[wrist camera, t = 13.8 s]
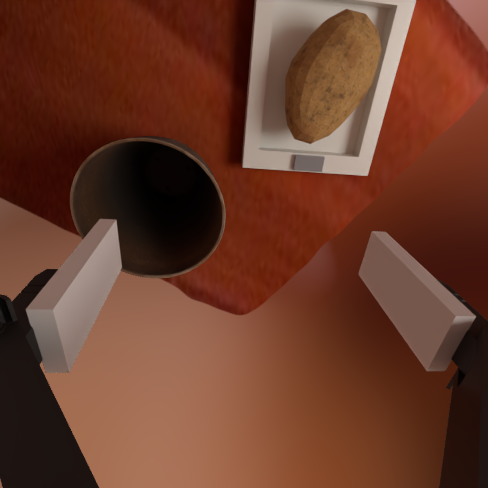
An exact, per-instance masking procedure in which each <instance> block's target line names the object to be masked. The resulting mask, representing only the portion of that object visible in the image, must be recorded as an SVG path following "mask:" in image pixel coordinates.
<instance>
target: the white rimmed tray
mask: <svg viewBox="0 0 488 488" xmlns="http://www.w3.org/2000/svg"><path fill="white" fill-rule="evenodd" d="M415 3H416V0H254V13H253V25H252V38H251V50H250V62H249V75H248V87H247V100H246V112H245V124H244V137H243V149H242V162H241V163H242V167H243V168H257V169H272V170H287V171H302V172H317V173H333V174H348V175H363V176H368V172H369V168H370V165H371V161H372V158H373V154H374V150H375V147H376V143H377V140H378V136H379V132H380V129H381V125H382V122H383V118H384V114H385V111H386V107H387V104H388V100H389V96H390V93H391V89H392V86H393V82H394V78H395V75H396V71H397V68H398V64H399V60H400V57H401V53H402V50H403V46H404V42H405V39H406V35H407V32H408V28H409V24H410V21H411V17H412V14H413V10H414V6H415ZM345 9H349V10H353V11H357V12H361V13H364V14H366V15H367V16H368V17H369V19H370V20H371V22H372V23H373V24H374V26H375V27H376V29H377V30H378V34H379V39H380V44H381V53H380V57H379V61H378V65H377V69H376V72H375V75H374V78H373V81H372V84H371V86H370V88H369V90H368V91H367V93H366V95H365V96H364V98H363V100H362V101H361V102H360V103H359V105H358V106H357V107H356V108H355V110H354V111H353V112H352V113H351V114H350V115H349V117H348V118H347V119H346V120H345V121H344V122H343V123H342V124H341V125H340V126H339V127H338V128H337V129H336V130H335V131H334V132H333V133H332V134H331V135H329V136H327V137H325V138H322V139H320V140H318V141H316V142H314V143H311V144H308V143H305V142H302V141H299V140H295V139H294V138H293V136H292V134H291V132H290V130H289V128H288V126H287V121H286V113H285V78H286V74H287V72H288V69H289V66H290V63H291V61H292V59H293V58H294V57H295V55H296V54H297V52H298V51H299V50H300V48H301V47H302V46H303V44H304V43H305V42H306V40H307V39H308V38H309V36H310V35H311V34H312V33H313V32H314V31H315V30H316V29H317V28H318V27H319V26H320V25H321V24H322V23H323V22H324V21H326V20H327V19H328V18H330V17H332V16H334V15H336V14H337V13H339V12H341V11H343V10H345Z"/></svg>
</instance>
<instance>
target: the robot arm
mask: <svg viewBox="0 0 488 488" xmlns="http://www.w3.org/2000/svg"><path fill="white" fill-rule="evenodd" d="M121 268H122V263H121V255H120V246H119V238H118V230H117V221H116V220H113V219H99V221H98V222H97V223H96V224H95V225H94V227H93V228H92V229H91V230H90V232H89V233H88V234H87V235H86V236H85V238H84V239H83V240H82V241H81V243H80V244H79V245H78V246H77V247H76V249H75V250H74V251H73V252H72V254H71V255H70V256H69V257H68V258H67V260H66V261H65V262H64V263H63V264H62V266H61V267H60V268H59V269H46V270H45V271H43V272H41V273H40V274H38V275H36V276H35V277H34V278H33V279H32V280H31V281H30V282H29V284H28V286H26V287H25V288H24V289H23V290H22V291H21V293H19V295H18V296H17V297H16V298H15V299H14V300H13V301H12V302H11V300H10V298H9V297H7V296H5V295H0V479H1V483H2V486H3V488H99V487H98V485H97V483H96V481H95V478H94V476H93V474H92V472H91V470H90V468H89V466H88V464H87V462H86V460H85V458H84V456H83V454H82V452H81V450H80V448H79V446H78V443H77V441H76V439H75V437H74V435H73V433H72V431H71V429H70V427H69V425H68V423H67V421H66V419H65V417H64V415H63V412H62V411H61V408H60V406H59V404H58V402H57V400H56V398H55V396H54V394H53V392H52V390H51V388H50V386H49V384H48V382H47V380H46V378H45V375H44V373H43V371H42V369H41V367H40V363H41V361H42V363H43V366H44V369H45V372H46V373H56V372H57V373H61V372H62V373H66V372H67V373H69V372H70V370H71V368H72V366H73V364H74V362H75V360H76V358H77V356H78V354H79V352H80V350H81V348H82V346H83V344H84V342H85V340H86V338H87V336H88V334H89V332H90V330H91V328H92V326H93V324H94V322H95V320H96V318H97V316H98V314H99V312H100V310H101V308H102V306H103V304H104V302H105V300H106V298H107V296H108V294H109V292H110V290H111V288H112V286H113V284H114V282H115V280H116V278H117V276H118V274H119V272H120V270H121ZM359 276H360V277H361V279H362V280H363V281H364V283H365V284H366V286H367V287H368V288H369V290H370V291H371V293H372V294H373V296H374V297H375V298H376V300H377V301H378V303H379V304H380V305H381V307H382V308H383V310H384V311H385V312H386V314H387V315H388V317H389V318H390V320H391V321H392V322H393V324H394V325H395V327H396V328H397V330H398V331H399V332H400V334H401V335H402V336H403V338H404V339H405V341H406V342H407V344H408V345H409V346H410V348H411V349H412V350H413V352H414V354H415V355H416V356H417V358H418V359H419V360H420V362H421V363H422V365H423V366H424V368H425V369H426V371H445V370H446V369H447V367H448V365H449V363H450V362H451V360H453V361H454V363H455V364H456V365H457V366H458V369H457V371H456V372H455V374H454V376H453V377H452V379H451V381H450V382H449V384H448V386H447V387H446V388H448V389H450V388H451V387H452V386H453V387H452V395H451V403H450V410H449V418H448V426H447V433H446V441H445V448H444V456H443V463H442V471H441V478H440V486H439V488H488V321H487V320H486V319H485V318H484V317H483V316H482V315H480V314H479V313H478V312H477V311H476V310H475V309H474V308H473V307H472V306H471V305H469V304H468V303H467V302H465V300H464V299H463V298H462V297H461V296H458V294H457V293H456V292H455V291H454V290H453V289H452V288H451V287H449V286H448V285H446V284H445V283H443V282H441V281H440V280H436V279H435V278H434V277H433V276H432V275H431V274H430V273H429V272H428V271H427V270H426V269H425V268H424V267H422V266H421V265H420V264H419V263H418V262H417V261H416V260H415V259H414V258H413V257H412V256H411V255H410V254H409V253H407V252H406V251H405V250H404V249H403V248H402V247H401V246H400V245H399V244H398V243H397V242H396V241H395V240H394V239H392V238H391V237H390V236H389V235H388V234H387V233H386V232H375V231H372V233H371V237H370V239H369V242H368V246H367V249H366V252H365V255H364V259H363V262H362V265H361V268H360V271H359Z"/></svg>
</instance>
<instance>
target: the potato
mask: <svg viewBox="0 0 488 488" xmlns="http://www.w3.org/2000/svg"><path fill="white" fill-rule="evenodd" d="M380 53H381V44H380V39H379V34H378V30H377V29H376V27H375V26H374V24H373V23H372V22H371V20H370V19H369V17H368V16H367V15H366V14H364V13H361V12H357V11H353V10H349V9H345V10H343V11H341V12H339V13H337V14H336V15H334V16H332V17H330V18H328V19H327V20H326V21H324V22H323V23H322V24H321V25H320V26H319V27H318V28H317V29H316V30H315V31H314V32H313V33H312V34H311V35H310V36H309V38H308V39H307V40H306V42H305V43H304V44H303V46H302V47H301V48H300V50H299V51H298V52H297V54H296V55H295V57H294V58H293V59H292V61H291V63H290V66H289V69H288V72H287V74H286V78H285V113H286V121H287V126H288V128H289V130H290V132H291V134H292V136H293V138H294V139H295V140H299V141H302V142H305V143H308V144H311V143H314V142H316V141H318V140H320V139H322V138H325V137H327V136H329V135H331V134H332V133H333V132H334V131H335V130H336V129H337V128H338V127H339V126H340V125H341V124H342V123H343V122H344V121H345V120H346V119H347V118H348V117H349V115H350V114H351V113H352V112H353V111H354V110H355V108H356V107H357V106H358V105H359V103H360V102H361V101H362V100H363V98H364V96H365V95H366V93H367V91H368V90H369V88H370V86H371V84H372V81H373V78H374V75H375V72H376V69H377V65H378V61H379V57H380Z"/></svg>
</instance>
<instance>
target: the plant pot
mask: <svg viewBox="0 0 488 488" xmlns="http://www.w3.org/2000/svg"><path fill="white" fill-rule="evenodd" d="M157 157H159V159H158V161H157V159H156V158H157ZM187 166H190V167H191V169H190V170H187ZM166 187H170V190H167V189H166ZM70 208H71V214H72V218H73V221H74V224H75V227H76V229H77V231H78V233H79V234H80V236H81V238H82V239H84V238H85V236H86V235H87V234H88V233H89V232H90V230H91V229H92V228H93V227H94V225H95V224H96V223H97V222H98V221H99V219H113V220H116V221H117V230H118V238H119V246H120V255H121V263H122V268H121V271H123V272H125V273H128V274H132V275H135V276H140V277H146V278H167V277H173V276H177V275H181V274H184V273H186V272H189V271H191V270H192V269H194V268H196V267H198V266H199V265H200V264H202V263H203V262H204V261H206V260H207V259H208V258H209V257H210V255H211V254H212V253H213V252H214V251H215V249H216V247H217V246H218V244H219V242H220V240H221V238H222V235H223V232H224V227H225V205H224V200H223V197H222V194H221V191H220V189H219V186H218V184H217V182H216V180H215V178H214V176H213V174H212V172H211V170H210V169H209V167H208V166H207V164H206V163H205V162H204V160H203V159H202V158H201V157H200V156H199V155H198V154H197V153H196V152H195V151H193V150H192V149H191V148H189V147H188V146H186V145H184V144H183V143H180V142H178V141H176V140H173V139H169V138H164V137H156V136H144V137H135V138H128V139H122V140H118V141H115V142H111V143H109V144H107V145H105V146H103V147H101V148H99V149H98V150H96V151H95V152H93V153H92V154H91V155H90V156H89V157H88V158H87V159H86V160H85V161H84V162H83V163H82V165H81V166H80V167H79V169H78V171H77V173H76V175H75V177H74V179H73V183H72V186H71V192H70Z"/></svg>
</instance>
